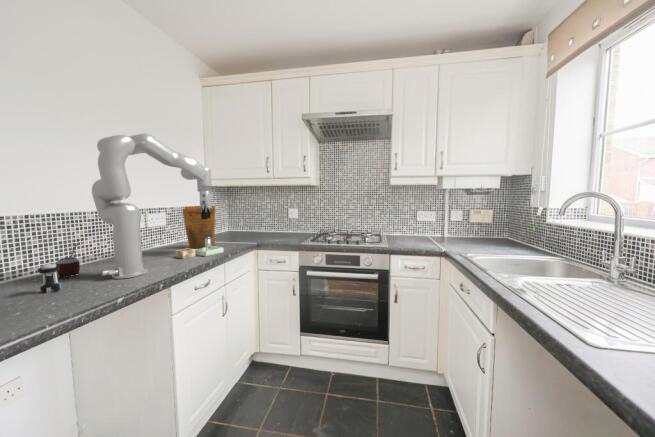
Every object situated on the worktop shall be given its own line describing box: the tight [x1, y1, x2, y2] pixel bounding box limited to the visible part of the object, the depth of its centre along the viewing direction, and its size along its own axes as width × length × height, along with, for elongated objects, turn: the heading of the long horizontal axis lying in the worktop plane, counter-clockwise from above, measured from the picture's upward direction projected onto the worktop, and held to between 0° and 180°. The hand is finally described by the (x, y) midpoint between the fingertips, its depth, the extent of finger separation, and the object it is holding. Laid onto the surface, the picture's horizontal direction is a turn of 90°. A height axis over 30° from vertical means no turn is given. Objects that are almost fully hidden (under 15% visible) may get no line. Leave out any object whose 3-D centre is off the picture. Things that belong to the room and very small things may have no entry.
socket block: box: [175, 247, 196, 260], centre depth 143 cm, size 7×7×4 cm
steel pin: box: [205, 237, 211, 251], centre depth 150 cm, size 3×3×9 cm
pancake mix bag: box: [182, 205, 217, 249], centre depth 166 cm, size 7×19×28 cm, turn 109°
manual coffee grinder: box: [56, 242, 81, 279], centre depth 111 cm, size 8×8×15 cm
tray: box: [195, 246, 225, 258], centre depth 151 cm, size 12×12×3 cm
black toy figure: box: [35, 263, 62, 294], centre depth 93 cm, size 7×5×10 cm
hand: (206, 218), depth 148 cm, fingers open, 9 cm apart
